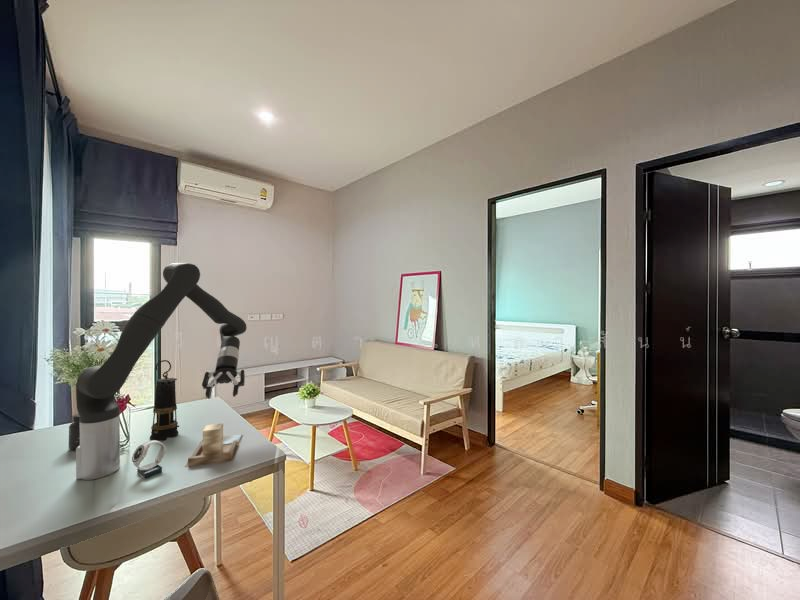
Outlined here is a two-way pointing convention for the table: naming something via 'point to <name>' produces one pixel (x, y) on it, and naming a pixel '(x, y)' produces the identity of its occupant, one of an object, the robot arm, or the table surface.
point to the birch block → (213, 439)
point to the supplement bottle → (74, 433)
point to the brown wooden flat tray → (228, 453)
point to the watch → (153, 467)
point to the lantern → (164, 408)
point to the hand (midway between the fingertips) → (221, 396)
